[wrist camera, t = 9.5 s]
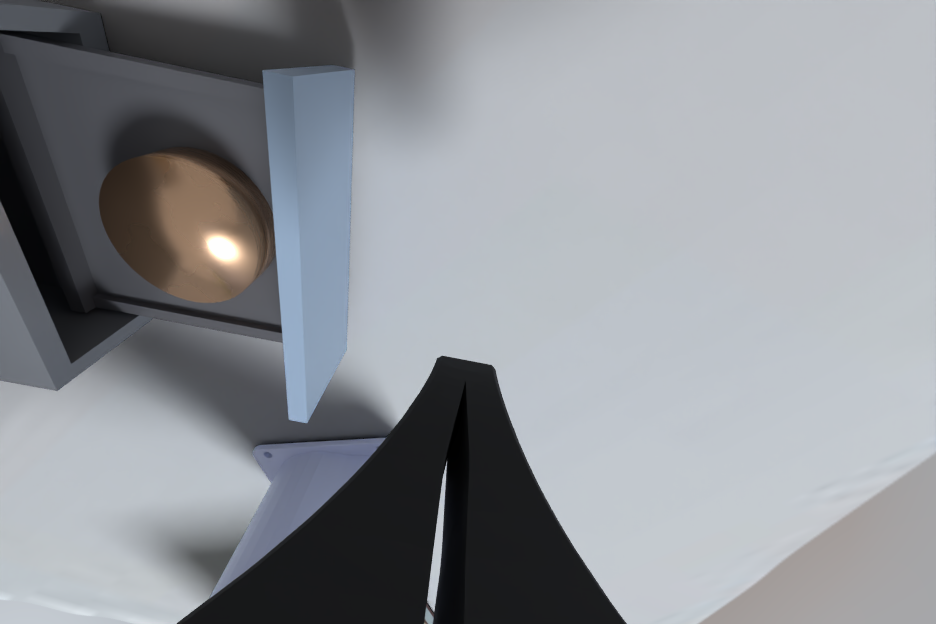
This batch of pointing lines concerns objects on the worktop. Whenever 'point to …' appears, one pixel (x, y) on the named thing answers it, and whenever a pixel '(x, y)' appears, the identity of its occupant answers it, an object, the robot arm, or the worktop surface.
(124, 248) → the puck
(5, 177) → the box
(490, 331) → the worktop surface
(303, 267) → the tray
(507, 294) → the worktop surface
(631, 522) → the worktop surface
